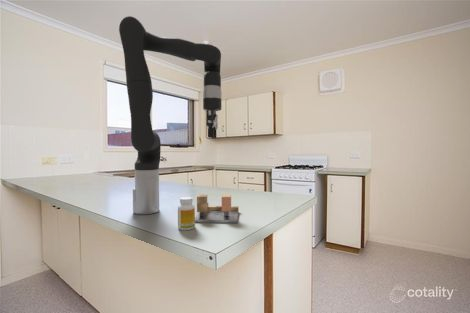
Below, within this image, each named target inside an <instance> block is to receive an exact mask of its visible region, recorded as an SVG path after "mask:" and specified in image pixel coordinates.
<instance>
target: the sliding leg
mask: <svg viewBox="0 0 470 313" xmlns="http://www.w3.org/2000/svg"><path fill="white" fill-rule="evenodd" d="M221 206H222V211H224V216H229V211H231V206H232V195H231V194H223V195H222V196H221Z"/></svg>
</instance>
